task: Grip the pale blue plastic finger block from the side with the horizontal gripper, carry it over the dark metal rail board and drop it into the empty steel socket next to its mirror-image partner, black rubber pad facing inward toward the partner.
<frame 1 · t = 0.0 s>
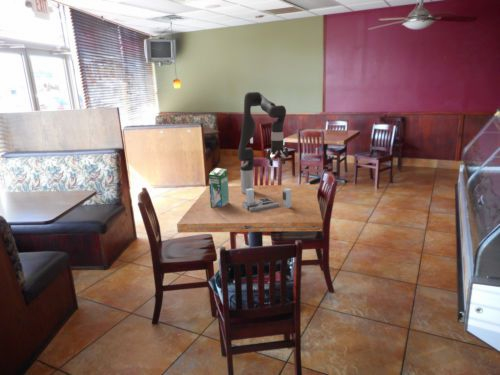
hand: (277, 165, 223), 29 cm above the table, tool pointing down, fingers open, 8 cm apart
loose finger: (287, 206, 235), on the table
rail board: (261, 208, 234), on the table
milk carton: (219, 206, 240), on the table
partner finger: (250, 207, 232), resting on rail board
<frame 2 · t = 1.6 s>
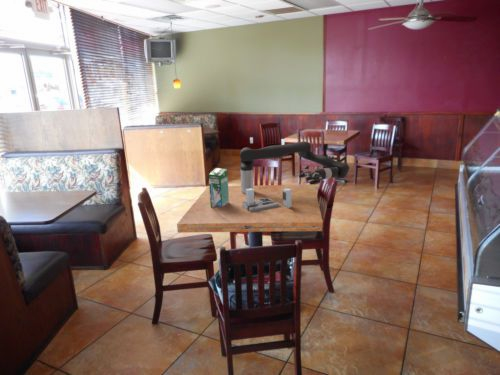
hand: (302, 177, 234), 18 cm above the table, tool horizontal, fingers open, 8 cm apart
nothing on the table moved.
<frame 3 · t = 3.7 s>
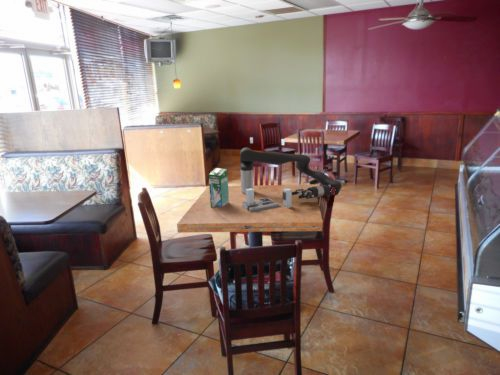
hand: (295, 195, 236), 7 cm above the table, tool horizontal, fingers open, 8 cm apart
nothing on the table moved.
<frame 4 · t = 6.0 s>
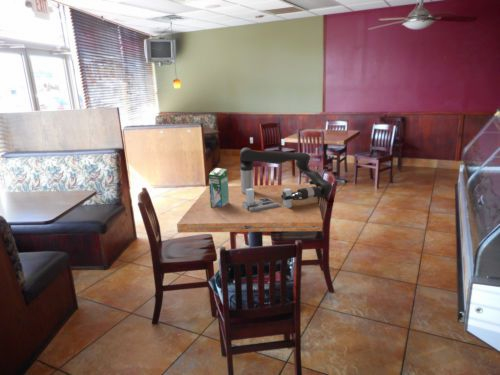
hand: (283, 197, 232), 7 cm above the table, tool horizontal, fingers closed on loose finger, 4 cm apart
loose finger: (287, 206, 235), on the table, touching gripper
everything else where it was.
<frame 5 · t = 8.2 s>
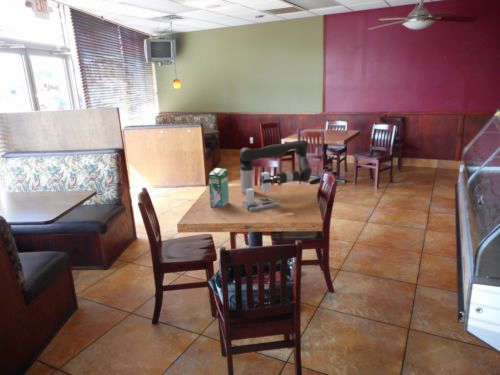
hand: (261, 180, 231), 18 cm above the table, tool horizontal, fingers closed on loose finger, 4 cm apart
loose finger: (265, 190, 234), point 11 cm above the table, touching gripper
everything else where it was.
when the fingers open (10 cm above the table, at t = 10.4 s): loose finger drops 2 cm, resting on rail board.
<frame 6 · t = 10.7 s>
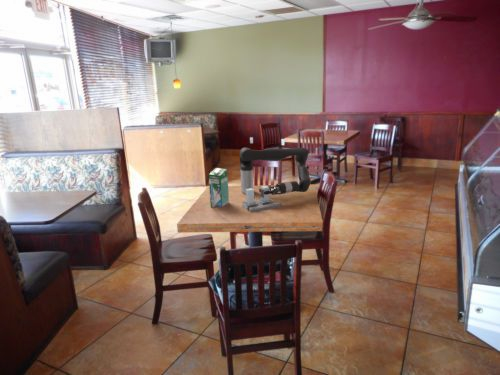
hand: (261, 191, 233), 10 cm above the table, tool horizontal, fingers open, 6 cm apart
loose finger: (265, 204, 237), point 1 cm above the table, touching rail board
everything else where it was.
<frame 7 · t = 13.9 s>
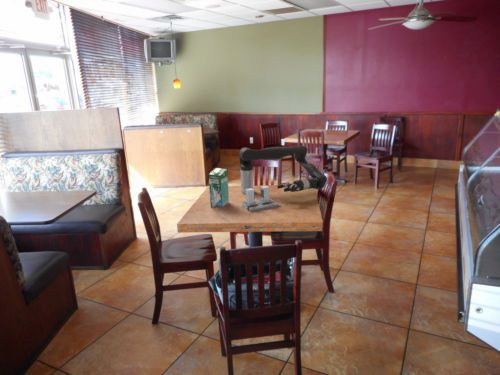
hand: (280, 188, 239), 10 cm above the table, tool horizontal, fingers open, 8 cm apart
nothing on the table moved.
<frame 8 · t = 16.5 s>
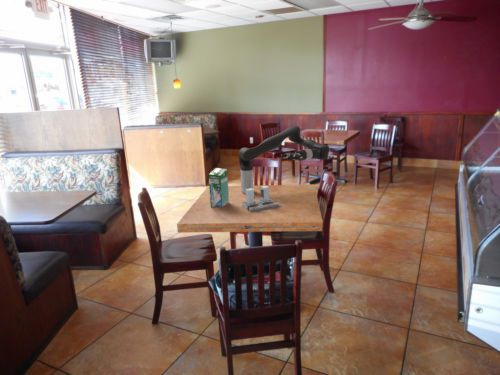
hand: (284, 157, 241), 30 cm above the table, tool horizontal, fingers open, 8 cm apart
nothing on the table moved.
at the end: loose finger 0.0 cm from the target spot, point 1.5 cm above the table; loose finger tilted 0°; the gripper is holding nothing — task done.
